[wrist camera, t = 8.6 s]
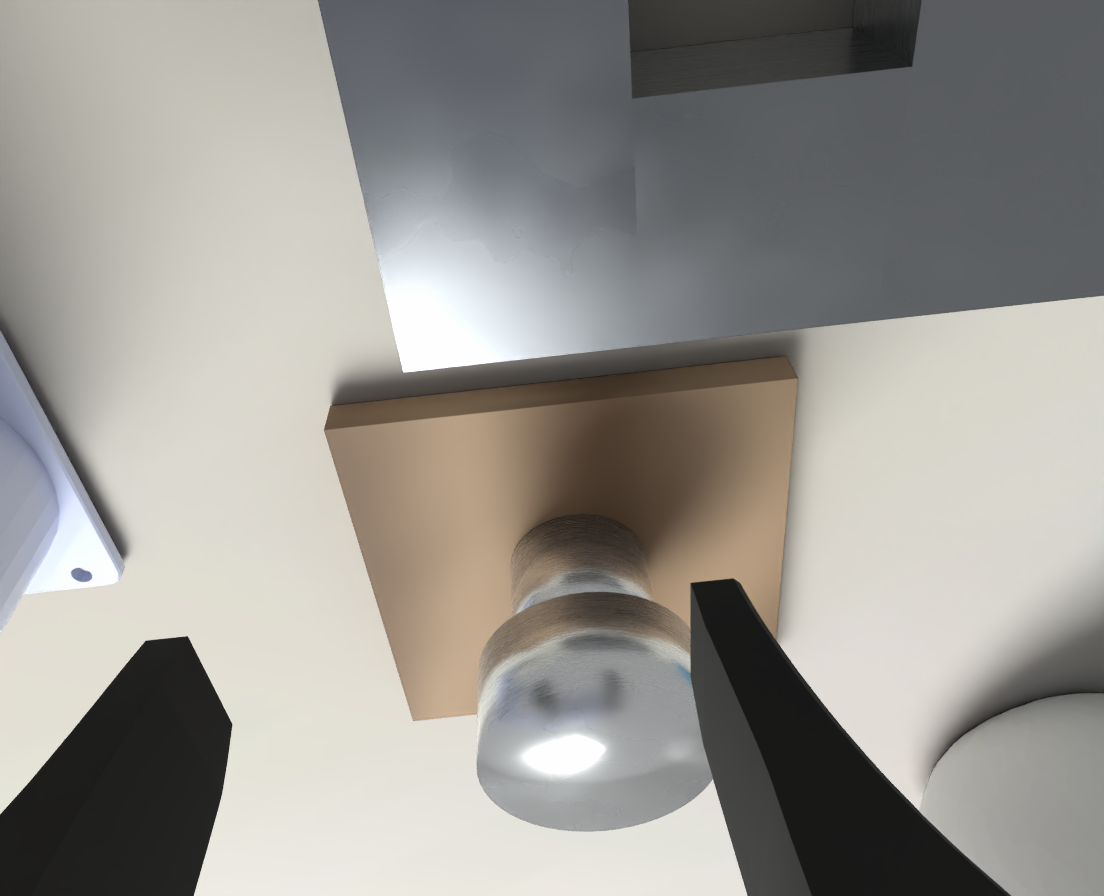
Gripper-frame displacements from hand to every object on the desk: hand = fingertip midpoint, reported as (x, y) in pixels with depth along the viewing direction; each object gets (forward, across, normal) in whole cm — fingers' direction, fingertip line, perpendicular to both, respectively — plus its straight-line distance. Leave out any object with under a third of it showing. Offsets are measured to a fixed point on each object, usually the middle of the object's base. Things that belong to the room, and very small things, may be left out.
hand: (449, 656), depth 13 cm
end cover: (+8, -2, +7) cm, 11 cm away
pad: (+9, -2, +7) cm, 12 cm away
